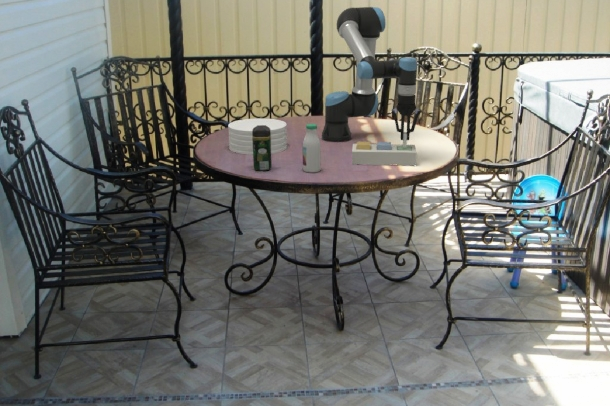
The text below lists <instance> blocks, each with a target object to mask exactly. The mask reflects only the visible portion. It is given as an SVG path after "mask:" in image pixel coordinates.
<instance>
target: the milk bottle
mask: <svg viewBox="0 0 610 406" xmlns="http://www.w3.org/2000/svg"><path fill="white" fill-rule="evenodd" d="M305 129H306V133H305V136H304V139H303V142H302V170H303V172H306V173H318V172H320V171H321V170H322V169H321V165H322V163H321V159H322V158H321V157H322V155H321V154H322V153H321V152H322V151H321V146H322V145H321V140H320V137H319V135H318V133H317V130H318V124H316V123H307V124H306V125H305Z"/></svg>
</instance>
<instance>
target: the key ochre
mask: <svg viewBox="0 0 610 406" xmlns="http://www.w3.org/2000/svg"><path fill="white" fill-rule="evenodd" d="M356 144H357V149H359V150H371V144H372V142H371V141H357V142H356Z"/></svg>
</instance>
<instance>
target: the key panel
mask: <svg viewBox="0 0 610 406" xmlns="http://www.w3.org/2000/svg"><path fill="white" fill-rule="evenodd" d="M397 146H403V144H400V143H399V144H398V143H397V144H396V143H395V144H394V143H393V144H392V143H391V150H377V143H371V150H359V149H357V143H352V150H351V151H352V152H351V165H352V166H355V165H356V166H358V165H357V164H368V165H367V166H392V165H393V164H397V165H416V166H417V156H418V154H417V153H418V151H417V148H416V145H415V144H406V146H411V149H412V150H397ZM390 164H392V165H390Z"/></svg>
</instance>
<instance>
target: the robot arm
mask: <svg viewBox="0 0 610 406" xmlns="http://www.w3.org/2000/svg"><path fill="white" fill-rule="evenodd" d="M386 25H387V24H386V17H385V13H384V12H383V10H382V8H380V7H374V6H365V7H361V6H360V7H349V8H346V9H344V10H343V11H342V12H341V13H340V14H339V15H338V17H337V20H336V30H337V33H338V34H339V36H340V38H342V39H343V40H344V41H345V43H346V45H347V46H348V48H349V51H350V52H351V53H352V56H353V57H354V59H355V61H356V73H355V83H354V87H353V88H352V89H351V93H349V92H348V91H346V90H343V91H334V92H330V93H328V94H327V95H326V96H325V100H324V101H325V103H324V115H325V116H324V119H325V121H324V122H325V123H324V125H323V129H322V132H321V140H322V141H326V142H331V143H332V142H334V143H341V142H342V143H343V142H347V141H351V140H352V131H351V128H350V126H349V125H350V124H349V118H360V117H361V118H363V117H364V118H365V117H371V116H373V115H375V113H377V110H378V108H379V95H378V94H377V93H376V90H375V89H374V88H373V83H374V82H373V81H374V80H375V79H389V78H390V79H393V78H396V79H398V83H397V84H398V85H397V86H398V89H397V93H398V94H397V105H396V107H395V108H394V109H391V114H392V115H393V118H394V124H395V128H396V132H397V133H400V140H401V141H402V145H403V148H406V145H408V144H407V142H408V141H409V140H410V134H411V133H414V132H415V129H416V125H417V123H418V122H417V121H418V118H419V116H420V114H421V113H422V112H421V109H418V108H417V106H416V95H415V94H416V93H417V72H418V60H417V58H416V57H411V56H410V57H408V56H407V57H401V58H400V59H397V58H392V59H388V60H377V59H376V57H375V56H376V49H377V47H376V45H377V40H378V39H379V38H380V37H381V36H380V35H381V33H383V32H384V31H385V30H386ZM397 113H399V115H400V116H401V117H400V125H399V121H398V116H397ZM413 113H414V117H413V121H412V124H411V116H412V115H413ZM405 117H407V118H406V131H405ZM350 139H351V140H350Z"/></svg>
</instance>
